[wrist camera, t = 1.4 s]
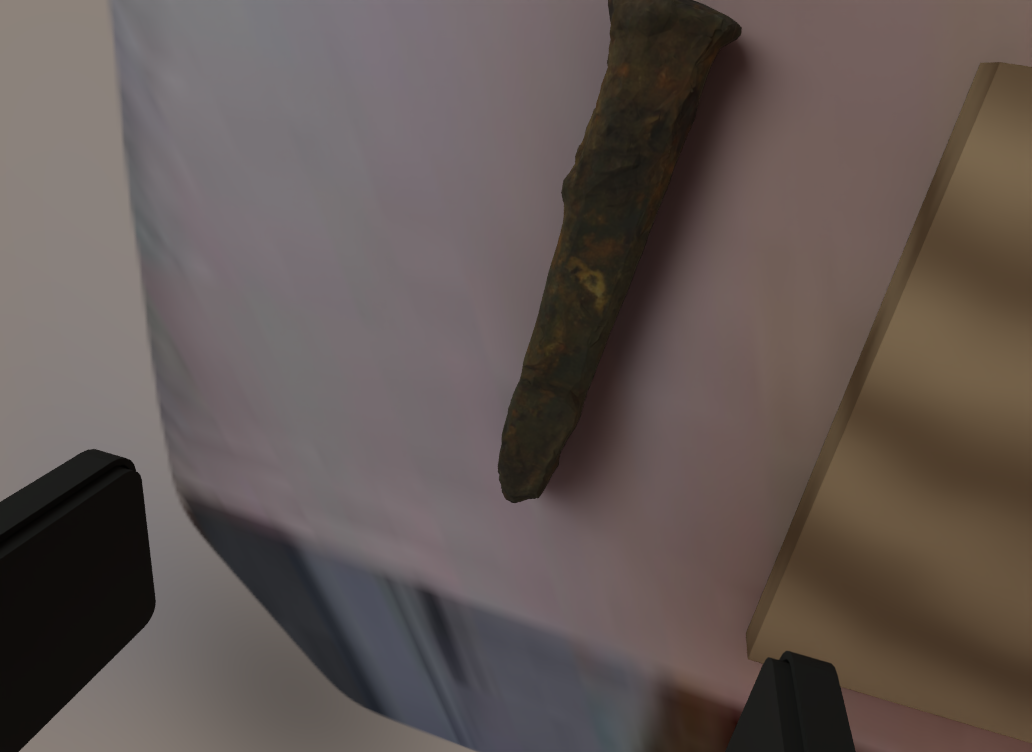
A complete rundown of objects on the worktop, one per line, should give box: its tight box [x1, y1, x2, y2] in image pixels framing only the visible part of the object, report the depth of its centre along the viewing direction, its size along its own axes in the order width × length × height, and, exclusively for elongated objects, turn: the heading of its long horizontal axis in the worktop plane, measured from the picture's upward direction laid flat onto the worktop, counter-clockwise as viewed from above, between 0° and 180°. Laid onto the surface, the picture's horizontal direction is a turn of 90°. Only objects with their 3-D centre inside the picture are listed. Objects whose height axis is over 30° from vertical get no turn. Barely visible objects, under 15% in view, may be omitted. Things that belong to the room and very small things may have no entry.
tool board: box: [746, 62, 1032, 743], centre depth 24 cm, size 24×12×2 cm, turn 171°
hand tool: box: [498, 0, 742, 503], centre depth 24 cm, size 19×4×5 cm, turn 162°
